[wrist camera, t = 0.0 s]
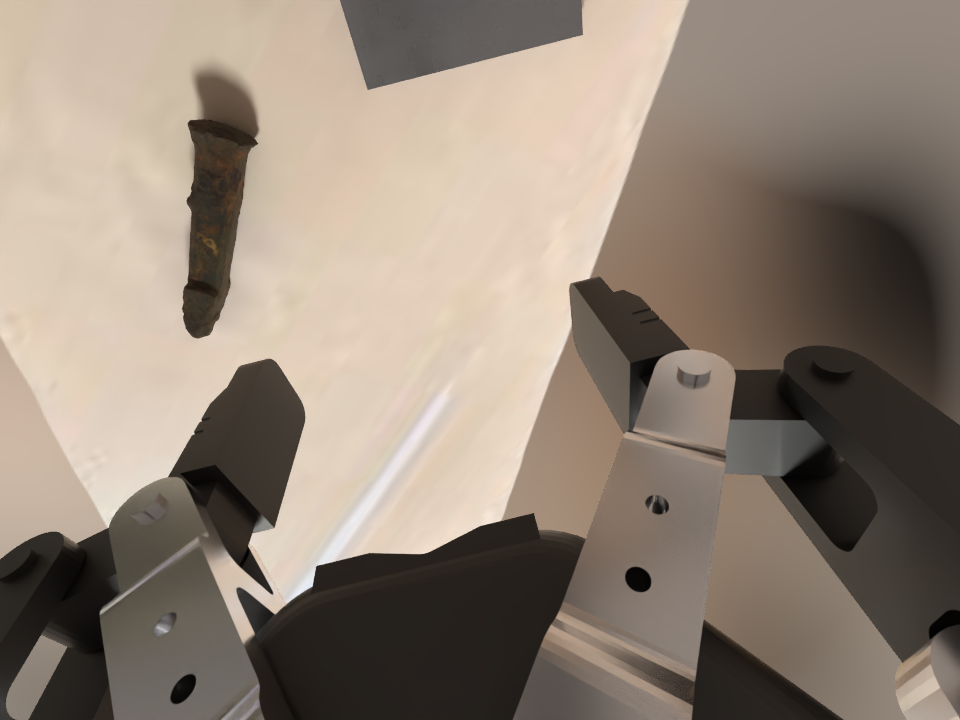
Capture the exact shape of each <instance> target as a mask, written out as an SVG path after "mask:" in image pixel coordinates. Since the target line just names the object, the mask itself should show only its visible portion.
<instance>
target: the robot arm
mask: <svg viewBox="0 0 960 720" xmlns="http://www.w3.org/2000/svg"><path fill="white" fill-rule="evenodd" d="M569 293H570V305H571V317H572V329H573V337H574V342H575V346H576V349H577V352H578V354H579V356H580V357H581V359H582V361H583V363H584V365H585V366H586V368H587V370H588V372H589V373H590V375H591V377H592V379H593V381H594V382H595V384H596V386H597V388H598V389H599V391H600V393H601V395H602V396H603V398H604V400H605V402H606V403H607V405H608V407H609V409H610V411H611V412H612V414H613V416H614V418H615V419H616V421H617V423H618V425H619V426H620V428H621V430H622V432H623V433H624V436H623V438H622V441H621V443H620V446H619V449H618V452H617V455H616V457H615V460H614V463H613V466H612V468H611V471H610V474H609V476H608V480H607V482H606V485H605V488H604V490H603V493H602V496H601V499H600V501H599V504H598V507H597V510H596V512H595V515H594V518H593V521H592V523H591V526H590V529H589V532H588V534H587V537H586V539H585V538H582V537H579V536H577V535H573V534H569V533H566V532H560V531H553V530H538V527H537V523H536V520H535V516H534V513H533V514H529V515H525V516H520V517H516V518H512V519H508V520H504V521H500V522H496V523H492V524H487V525H483V526H480V527H478V528H476V529H474V530H472V531H470V532H468V533H466V534H464V535H462V536H460V537H458V538H456V539H454V540H452V541H450V542H448V543H447V544H445V545H443V546H441V547H439V548H437V549H435V550H433V551H431V552H429V553H425V554H380V553H369V554H364V555H360V556H356V557H352V558H348V559H344V560H340V561H336V562H332V563H328V564H323V565H319V566H316V571H315V577H314V582H313V587H311V588H309V589H307V590H306V591H304V592H303V593H301V594H300V595H298V596H297V597H295V598H294V599H293V600H291V601H290V602H289V603H288V604H286V602H285V601H284V599H283V597H282V596H281V594H280V592H279V590H278V589H277V587H276V585H275V583H274V582H273V580H272V578H271V576H270V574H269V573H268V571H267V569H266V567H265V566H264V564H263V562H262V560H261V558H260V557H259V555H258V553H257V551H256V550H255V549H254V547H253V546H251V545H250V544H249V542H250V539H251V536H252V533H256V532H260V531H264V530H268V529H273V528H274V527H275V524H276V521H277V517H278V514H279V510H280V507H281V503H282V500H283V496H284V493H285V489H286V486H287V482H288V479H289V475H290V472H291V469H292V465H293V462H294V458H295V455H296V451H297V448H298V444H299V441H300V437H301V434H302V430H303V427H304V423H305V411H304V407H303V404H302V402H301V400H300V398H299V397H298V395H297V393H296V392H295V390H294V389H293V387H292V386H291V384H290V382H289V381H288V379H287V378H286V376H285V375H284V373H283V372H282V370H281V368H280V367H279V365H278V364H277V363H276V362H275V361H274V360H272V359H265V360H261V361H257V362H253V363H249V364H245V365H242V366H240V367H239V368H238V369H237V371H236V373H235V374H234V376H233V378H232V380H231V382H230V383H229V385H228V387H227V388H226V389H225V390H224V391H223V392H222V393H221V394H220V395H219V396H218V397H217V398H216V399H215V400H214V401H213V402H212V403H211V404H210V405H209V407H208V409H207V410H206V412H205V414H204V416H203V417H202V419H201V420H202V422H200V423H199V424H198V426H197V428H196V429H195V431H194V433H195V435H192V436H191V438H190V440H189V442H188V443H187V445H186V447H185V449H184V450H183V452H182V454H181V455H180V457H179V459H178V461H177V462H176V464H175V466H174V468H173V469H172V471H171V473H170V475H169V476H168V477H167V478H163V479H160V480H157V481H155V482H153V483H151V484H149V485H147V486H145V487H144V488H142V489H141V490H139V491H138V492H136V493H135V494H134V495H133V496H131V497H130V498H129V499H128V500H127V501H126V502H125V503H124V504H123V505H122V506H121V507H120V508H119V509H118V511H117V512H116V513H115V515H114V517H113V518H112V520H111V522H110V525H109V528H107V529H105V530H103V531H101V532H99V533H97V534H95V535H93V536H91V537H89V538H87V539H85V540H83V541H81V542H79V543H77V544H76V543H75V542H73V541H71V540H70V539H69V538H67V537H65V536H64V535H62V534H61V533H59V532H48V533H44V534H41V535H38V536H36V537H34V538H31V539H29V540H28V541H26V542H24V543H22V544H21V545H19V546H17V547H16V548H14V549H13V550H12V551H10V552H9V553H8V554H6V555H5V556H4V557H3V558H1V559H0V720H15V719H13V718H12V717H10V716H9V714H8V713H7V709H6V697H7V693H8V691H9V688H10V686H11V685H12V683H13V681H14V679H15V678H16V676H17V674H18V672H19V671H20V669H21V668H22V666H23V664H24V663H25V661H26V659H27V657H28V656H29V654H30V652H31V651H32V649H33V647H34V646H35V644H36V642H37V641H38V639H39V637H40V636H41V635H43V636H45V637H47V638H49V639H52V640H54V641H56V642H58V643H61V644H63V645H65V646H67V649H66V651H65V653H64V655H63V656H62V658H61V660H60V662H59V664H58V666H57V668H56V670H55V671H54V673H53V675H52V677H51V679H50V681H49V683H48V684H47V686H46V688H45V690H44V692H43V694H42V696H41V698H40V699H39V701H38V703H37V705H36V707H35V709H34V711H33V712H32V714H31V716H30V718H29V720H843V719H842V718H840V717H839V716H838V715H836V714H835V713H833V712H832V711H831V710H829V709H828V708H827V707H825V706H824V705H823V704H821V703H820V702H818V701H817V700H815V699H814V698H813V697H811V696H810V695H809V694H807V693H806V692H804V691H803V690H802V689H800V688H799V687H797V686H796V685H795V684H793V683H792V682H790V681H789V680H787V679H786V678H785V677H783V676H782V675H781V674H779V673H778V672H776V671H775V670H774V669H772V668H771V667H770V666H768V665H767V664H765V663H764V662H762V661H761V660H760V659H758V658H757V657H756V656H754V655H753V654H751V653H750V652H749V651H747V650H746V649H744V648H743V647H742V646H740V645H739V644H737V643H736V642H735V641H733V640H732V639H730V638H729V637H728V636H726V635H725V634H723V633H722V632H721V631H719V630H718V629H716V628H715V627H714V626H712V625H711V624H710V623H708V622H707V621H705V620H704V612H705V605H706V599H707V592H708V584H709V578H710V571H711V563H712V556H713V549H714V542H715V534H716V528H717V521H718V514H719V506H720V500H721V493H722V485H723V478H724V474H747V475H762V476H763V477H764V479H765V480H766V482H767V483H768V484H769V486H770V487H771V488H772V490H773V491H774V492H775V494H776V495H777V496H778V498H779V499H780V500H781V502H782V503H783V504H784V506H785V507H786V508H787V510H788V511H789V512H790V514H791V515H792V516H793V518H794V519H795V520H796V522H797V523H798V524H799V526H800V527H801V528H802V530H803V531H804V532H805V534H806V535H807V536H808V537H809V539H810V540H811V541H812V543H813V544H814V546H815V547H816V548H817V550H818V551H819V552H820V554H821V555H822V556H823V558H824V559H825V560H826V562H827V563H828V564H829V566H830V567H831V568H832V570H834V572H835V574H836V575H837V576H838V577H839V579H840V580H841V582H842V583H843V584H844V585H845V587H846V588H847V589H848V591H849V592H850V593H851V595H852V596H853V597H854V599H855V600H856V601H857V603H858V604H859V605H860V607H861V608H862V609H863V611H864V612H865V613H866V615H867V616H868V617H869V619H870V620H871V621H872V623H873V624H874V625H875V627H876V628H877V629H878V631H879V632H880V633H881V635H882V636H883V637H884V639H885V640H886V641H887V643H888V644H889V645H890V646H891V648H892V649H893V651H894V652H895V653H896V655H897V656H898V657H899V658H900V660H901V661H902V664H901V665H900V666H899V668H898V671H897V673H896V677H895V692H896V695H897V700H898V703H899V705H900V708H901V710H902V713H903V714H904V716H905V718H906V720H960V425H959V424H957V423H956V422H955V421H953V420H952V419H950V418H949V417H948V416H946V415H945V414H944V413H942V412H941V411H939V410H938V409H937V408H935V407H934V406H933V405H931V404H930V403H928V402H927V401H925V400H924V399H923V398H922V397H920V396H919V395H917V394H916V393H915V392H913V391H912V390H911V389H909V388H908V387H906V386H905V385H904V384H902V383H901V382H899V381H898V380H897V379H895V378H894V377H893V376H891V375H890V374H888V373H887V372H886V371H884V370H883V369H881V368H880V367H879V366H877V365H876V364H875V363H873V362H872V361H870V360H869V359H867V358H866V357H864V356H861V355H859V354H857V353H855V352H852V351H849V350H845V349H842V348H837V347H830V346H808V347H802V348H798V349H796V350H794V351H792V352H790V353H789V354H788V355H787V356H786V357H785V359H784V362H783V366H782V369H781V370H734V369H733V367H732V366H731V365H730V364H729V363H728V362H727V361H726V360H724V359H723V358H721V357H719V356H717V355H715V354H712V353H709V352H705V351H700V350H690V349H689V348H688V347H687V346H686V345H685V344H684V343H683V342H682V340H681V339H680V338H679V337H678V336H677V335H676V334H675V333H674V332H673V331H672V330H671V329H670V328H669V327H668V326H667V325H666V324H665V323H664V322H663V321H662V320H660V319H659V317H658V315H656V313H655V312H654V311H651V308H650V307H649V306H648V305H647V304H646V303H645V302H644V301H643V300H642V299H641V298H640V297H638V296H636V295H634V294H631V293H629V292H627V291H625V290H621V291H617V292H613V291H612V290H611V289H610V288H609V287H608V285H607V284H606V283H605V282H604V281H603V280H602V279H601V278H600V277H595V278H591V279H587V280H583V281H579V282H575V283H571V284H570V288H569Z"/></svg>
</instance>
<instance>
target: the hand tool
mask: <svg viewBox="0 0 960 720" xmlns="http://www.w3.org/2000/svg"><path fill="white" fill-rule="evenodd" d="M188 127H189V130H190V133H191V139H192V141H193V143H194V146H195V165H194V181H193V184H192V187H191V190H192V192H191V195H190V196H189V197H188V198H187V204H188V206H189V207H190V209H191V211H192V216H191V232H190V251H189V275H188V283H187V285H186V286H185V287H184V291H183V300H184V304H183V308H182V310H183V313H184V316H183V320H184V323H185V326H186V329H187V331H188V332H189V333H190V335H191V336H192V337H195V338H202V337H205V336H208V335H210V333H211V332H212V330H213V326H214V324H215V322H216V321H217V320H218V319H219V317H220V312H221V309H222V308H223V307H224V303H225V299H226V297H227V294H228V291H229V289H230V280H229V273H230V268H231V263H232V257H233V251H234V246H235V241H236V229H237V224H238V217H239V214H240V208H241V205H242V199H243V187H244V175H245V167H246V162H247V157H248V153H249V151H250V149H251V148H252V147H254V146H255V145H257V144H258V143H257V141H256V140H255V139H253V138H252V137H251V136H250V135H247V134H245V133H242V132H240V131H238V130H237V129H235V128H232V127H230V126H227V125H224V124H221V123H218V122H214V121H212V120H191V121H189V122H188Z"/></svg>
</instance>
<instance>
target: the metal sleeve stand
mask: <svg viewBox="0 0 960 720" xmlns="http://www.w3.org/2000/svg"><path fill="white" fill-rule="evenodd" d="M340 2H341V5H342V8H343V11H344V14H345V18H346V21H347V24H348V27H349V31H350V34H351V37H352V40H353V44H354V47H355V50H356V53H357V56H358V60H359V63H360V66H361V69H362V73H363V76H364V79H365V82H366V85H367V89H368V90H369V89H373V88H377V87H381V86H385V85H389V84H393V83H397V82H401V81H404V80H408V79H412V78H416V77H420V76H424V75H428V74H432V73H436V72H440V71H443V70H447V69H451V68H455V67H459V66H463V65H467V64H471V63H475V62H479V61H482V60H486V59H490V58H494V57H498V56H502V55H506V54H510V53H514V52H518V51H521V50H525V49H529V48H533V47H537V46H541V45H545V44H549V43H553V42H557V41H560V40H564V39H568V38H572V37H576V36H580V35H583V30H582V6H581V0H340Z"/></svg>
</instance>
